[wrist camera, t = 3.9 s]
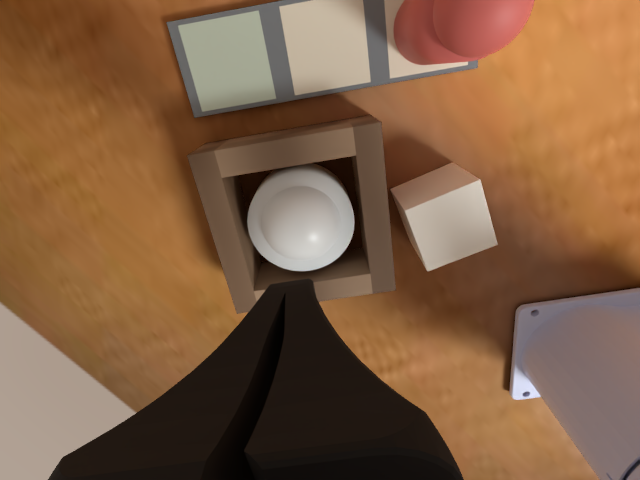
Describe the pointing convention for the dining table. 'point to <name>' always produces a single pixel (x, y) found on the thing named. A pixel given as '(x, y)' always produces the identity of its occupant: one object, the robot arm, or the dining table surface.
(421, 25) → the pawn
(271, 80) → the track
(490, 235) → the white cube
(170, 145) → the dining table surface
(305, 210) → the dome
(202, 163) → the dome housing
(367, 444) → the robot arm
